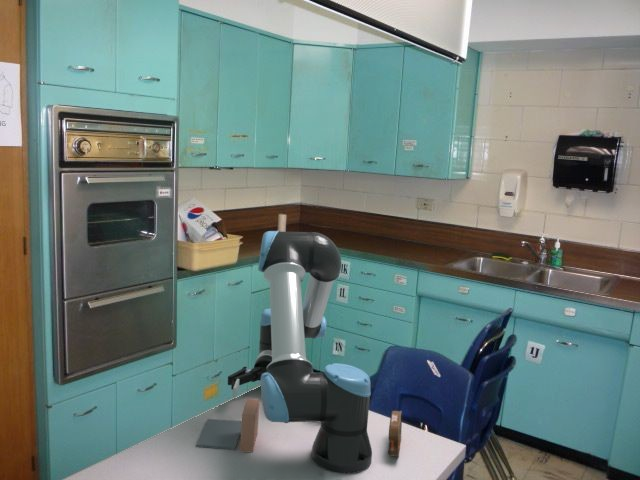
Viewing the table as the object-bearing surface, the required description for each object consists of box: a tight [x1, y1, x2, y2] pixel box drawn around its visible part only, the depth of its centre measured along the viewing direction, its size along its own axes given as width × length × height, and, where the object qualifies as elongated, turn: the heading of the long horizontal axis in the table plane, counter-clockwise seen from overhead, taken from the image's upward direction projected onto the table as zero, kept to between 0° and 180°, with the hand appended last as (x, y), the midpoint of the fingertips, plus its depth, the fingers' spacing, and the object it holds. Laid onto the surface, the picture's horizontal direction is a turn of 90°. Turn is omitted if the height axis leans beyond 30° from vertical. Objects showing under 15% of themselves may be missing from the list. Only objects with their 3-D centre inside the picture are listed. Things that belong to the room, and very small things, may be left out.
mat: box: [195, 418, 242, 451], centre depth 152 cm, size 10×14×1 cm
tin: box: [388, 410, 403, 458], centre depth 151 cm, size 15×3×8 cm, turn 168°
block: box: [239, 398, 260, 453], centre depth 148 cm, size 3×9×10 cm, turn 179°
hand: (258, 394), depth 163 cm, fingers open, 13 cm apart
